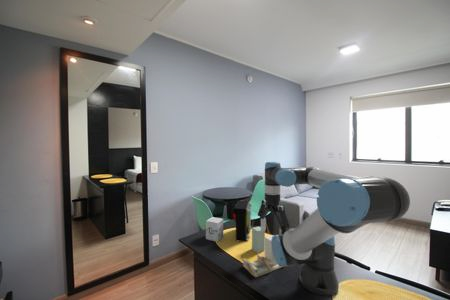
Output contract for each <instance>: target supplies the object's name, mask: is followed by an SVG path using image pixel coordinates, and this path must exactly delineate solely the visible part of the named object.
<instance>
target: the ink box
mask: <svg viewBox="0 0 450 300" xmlns="http://www.w3.org/2000/svg"><path fill="white" fill-rule="evenodd" d="M223 237H224V218H221V217H214V216H211V217H210V218H208V219H207V220H205V240H208V241H213V242H216V243H217V242H219V241H220V240H221V239H222V238H223Z"/></svg>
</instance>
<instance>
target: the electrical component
mask: <svg viewBox="0 0 450 300" xmlns="http://www.w3.org/2000/svg"><path fill="white" fill-rule="evenodd" d="M252 205H253V204H252V203H250V201H249V200H237V202H236V204H235V206H234V207H233V209H234V210H233V214H232V218H233V221H234V222H235V241H237V240H239V241H240V242H247V241H248V240H250V238H251V235H250V233H251V232H250V231H252V225H251V223H252V222H251V220H252V217H251V215H252V214H251V211H252V209H251V207H252ZM239 241H238V242H239Z"/></svg>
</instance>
